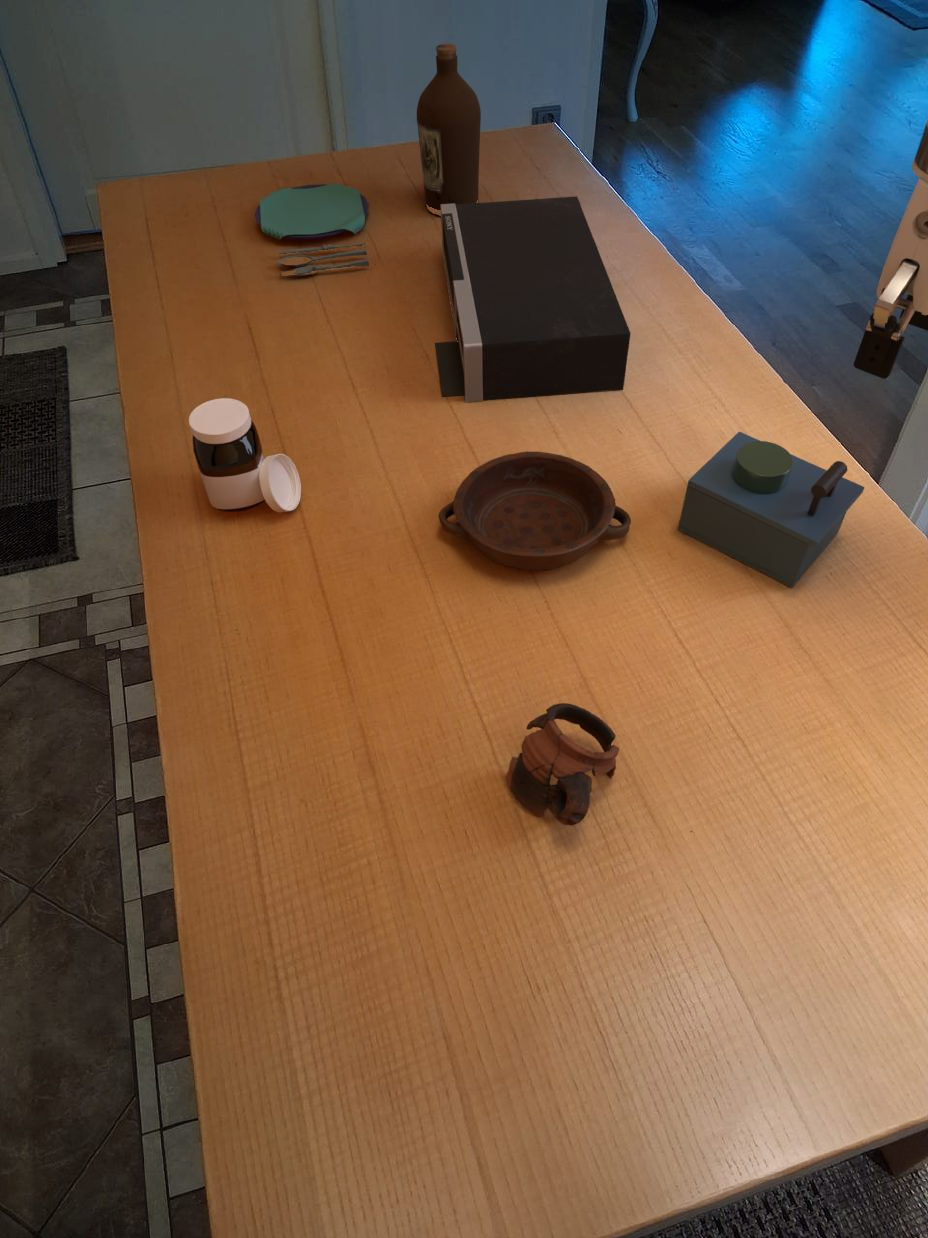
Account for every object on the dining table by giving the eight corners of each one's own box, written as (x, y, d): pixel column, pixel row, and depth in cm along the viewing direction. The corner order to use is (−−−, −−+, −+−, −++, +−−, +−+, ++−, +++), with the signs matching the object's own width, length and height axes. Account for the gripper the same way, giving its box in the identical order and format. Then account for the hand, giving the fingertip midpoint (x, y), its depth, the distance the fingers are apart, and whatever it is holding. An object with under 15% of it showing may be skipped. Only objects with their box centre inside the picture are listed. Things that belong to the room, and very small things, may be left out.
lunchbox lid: (862, 492, 98) (877, 456, 94) (815, 548, 93) (829, 512, 89) (737, 436, 105) (747, 400, 101) (687, 485, 99) (695, 449, 96)
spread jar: (206, 473, 113) (182, 395, 104) (295, 457, 115) (279, 380, 106) (213, 537, 106) (187, 459, 97) (308, 519, 107) (291, 441, 98)
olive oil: (461, 187, 164) (457, 30, 145) (493, 208, 158) (493, 48, 139) (411, 202, 161) (400, 43, 142) (441, 225, 155) (434, 63, 136)
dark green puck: (781, 458, 101) (787, 440, 99) (792, 494, 97) (798, 476, 95) (727, 458, 101) (732, 440, 99) (736, 493, 97) (741, 476, 95)
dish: (443, 481, 111) (441, 449, 107) (621, 481, 110) (626, 449, 107) (435, 584, 100) (433, 553, 96) (634, 586, 99) (640, 554, 95)
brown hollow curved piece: (491, 751, 86) (527, 686, 82) (576, 770, 89) (614, 708, 86) (516, 847, 76) (559, 778, 73) (611, 864, 80) (656, 799, 76)
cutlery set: (364, 189, 164) (363, 176, 163) (382, 270, 145) (381, 257, 143) (255, 200, 163) (253, 187, 161) (258, 284, 143) (256, 270, 142)
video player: (623, 390, 123) (630, 332, 116) (442, 404, 122) (439, 347, 115) (572, 247, 149) (576, 194, 142) (423, 258, 147) (420, 204, 141)
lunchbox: (837, 533, 104) (855, 489, 98) (791, 588, 98) (808, 544, 93) (726, 481, 110) (737, 436, 105) (677, 529, 105) (687, 485, 100)
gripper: (976, 207, 63) (893, 408, 76) (1058, 128, 72) (971, 321, 85) (874, 178, 66) (811, 375, 80) (964, 106, 75) (894, 295, 88)
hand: (893, 347), depth 82 cm, fingers open, 9 cm apart
